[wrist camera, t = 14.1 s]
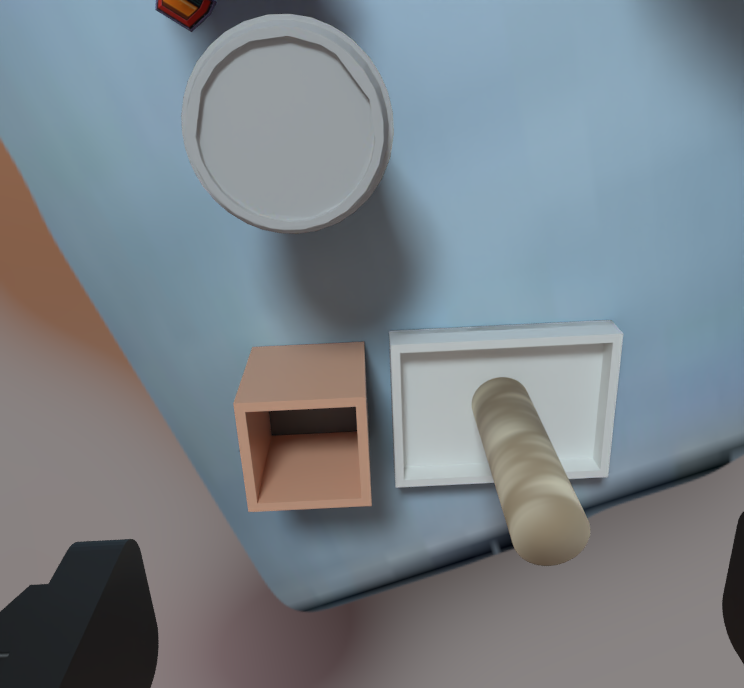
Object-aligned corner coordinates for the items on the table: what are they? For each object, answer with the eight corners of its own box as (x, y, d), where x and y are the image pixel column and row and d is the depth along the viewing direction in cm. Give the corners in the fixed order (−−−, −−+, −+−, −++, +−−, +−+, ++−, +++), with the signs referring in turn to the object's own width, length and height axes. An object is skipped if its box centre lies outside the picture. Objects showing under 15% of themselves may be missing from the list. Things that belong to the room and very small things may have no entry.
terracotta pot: (364, 341, 47) (365, 396, 40) (369, 438, 50) (371, 505, 43) (252, 347, 47) (233, 403, 40) (264, 443, 50) (248, 511, 43)
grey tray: (610, 319, 47) (623, 333, 45) (597, 458, 52) (607, 477, 49) (388, 330, 47) (390, 345, 45) (394, 468, 52) (395, 487, 49)
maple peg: (530, 375, 48) (593, 501, 35) (527, 426, 49) (586, 564, 37) (472, 378, 48) (514, 505, 35) (470, 428, 49) (510, 567, 37)
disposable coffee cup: (394, 177, 43) (407, 224, 32) (242, 199, 43) (203, 253, 32) (372, 7, 39) (379, -5, 28) (206, 33, 40) (149, 31, 29)
